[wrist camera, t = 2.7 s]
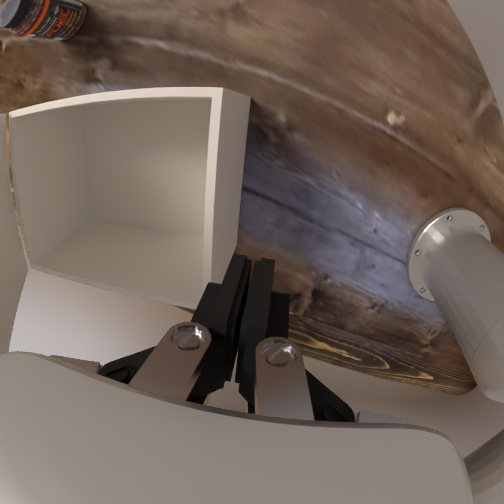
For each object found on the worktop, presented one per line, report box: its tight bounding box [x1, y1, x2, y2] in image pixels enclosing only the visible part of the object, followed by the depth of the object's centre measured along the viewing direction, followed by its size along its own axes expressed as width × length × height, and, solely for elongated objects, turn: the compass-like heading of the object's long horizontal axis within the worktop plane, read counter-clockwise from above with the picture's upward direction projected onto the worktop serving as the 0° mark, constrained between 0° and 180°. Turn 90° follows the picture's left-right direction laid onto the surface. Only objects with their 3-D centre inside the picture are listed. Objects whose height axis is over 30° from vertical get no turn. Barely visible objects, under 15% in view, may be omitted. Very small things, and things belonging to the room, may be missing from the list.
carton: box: [9, 87, 251, 310], centre depth 24 cm, size 20×16×12 cm
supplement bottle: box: [0, 0, 87, 40], centre depth 16 cm, size 6×6×11 cm
